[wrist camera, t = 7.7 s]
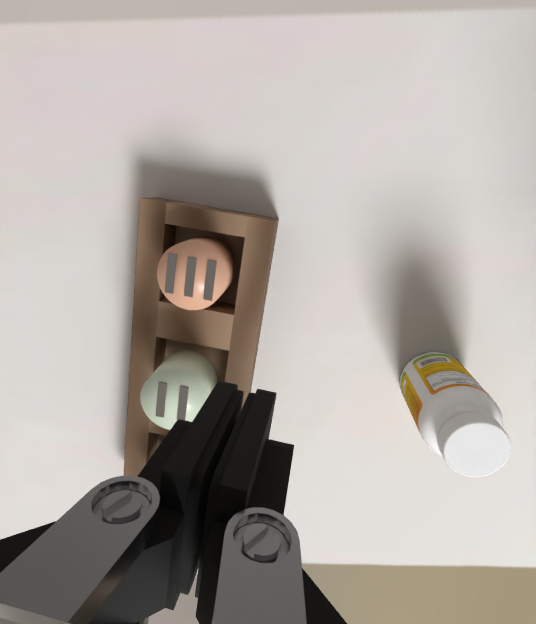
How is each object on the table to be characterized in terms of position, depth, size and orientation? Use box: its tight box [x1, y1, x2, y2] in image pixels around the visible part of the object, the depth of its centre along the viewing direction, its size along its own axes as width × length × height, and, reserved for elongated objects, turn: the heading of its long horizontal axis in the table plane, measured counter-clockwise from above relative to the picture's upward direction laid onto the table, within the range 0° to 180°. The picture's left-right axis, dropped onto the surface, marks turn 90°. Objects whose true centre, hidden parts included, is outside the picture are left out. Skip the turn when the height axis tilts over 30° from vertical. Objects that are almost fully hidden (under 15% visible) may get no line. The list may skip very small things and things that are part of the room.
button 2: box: [140, 350, 217, 430], centre depth 30 cm, size 5×5×4 cm
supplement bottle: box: [400, 352, 511, 477], centre depth 29 cm, size 5×5×10 cm
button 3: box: [157, 236, 235, 310], centre depth 29 cm, size 5×5×4 cm
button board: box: [124, 198, 279, 476], centre depth 34 cm, size 10×27×3 cm, turn 171°
